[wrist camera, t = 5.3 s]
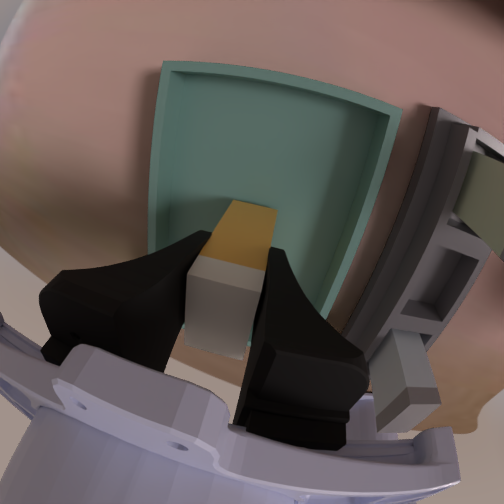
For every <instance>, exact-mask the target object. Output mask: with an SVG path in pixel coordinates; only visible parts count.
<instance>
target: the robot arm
mask: <svg viewBox="0 0 504 504" xmlns="http://www.w3.org/2000/svg"><path fill="white" fill-rule="evenodd" d="M211 235H212V232H208V231H204V230H199V231H197V232H195V233H193V234H191V235H189V236H187V237H185V238H183V239H181V240H179V241H177V242H175V243H174V244H172V245H169V246H167V247H165V248H163V249H160V250H158V251H156V252H154V253H151V254H149V255H146V256H143V257H140V258H137V259H134V260H130V261H126V262H122V263H118V264H114V265H109V266H104V267H97V268H90V269H76V270H62V271H61V272H60V273H59V274H58V275H57V276H56V277H55V278H54V279H52V280H51V281H50V282H49V283H48V284H47V285H46V286H45V287H44V288H43V289H42V290H41V292H40V294H39V305H40V308H41V312H42V315H43V317H44V319H45V322H46V324H47V327H48V329H49V332H50V334H51V337H50V338H49V340H48V341H47V342H46V343H45V345H44V346H43V347H41V346H39V345H38V344H36V343H34V342H33V341H31V340H30V339H28V338H27V337H25V336H24V335H22V334H21V333H19V332H18V331H17V330H15V329H14V328H12V327H11V326H9V325H8V324H7V323H5V322H4V319H3V316H2V314H1V312H0V394H1V395H2V396H4V397H5V398H6V399H7V400H8V401H9V402H10V403H12V405H14V406H15V407H16V408H17V409H18V410H19V411H21V412H22V413H23V414H24V415H25V416H27V417H28V418H29V419H30V420H32V421H31V423H30V425H29V427H28V428H27V430H26V432H25V434H24V435H23V437H22V439H21V441H20V443H19V445H18V446H17V448H16V450H15V452H14V454H13V456H12V458H11V460H10V462H9V464H8V466H7V468H6V470H5V472H4V474H3V477H2V479H1V481H0V504H416V501H419V500H422V499H424V498H427V497H429V496H432V495H434V494H436V493H439V492H441V491H443V490H445V489H448V488H450V487H452V486H454V485H456V484H458V483H459V482H460V481H461V478H460V471H459V464H458V458H457V453H456V447H455V442H454V436H453V432H452V427H450V426H447V427H438V428H430V429H427V430H424V431H422V432H421V433H419V434H418V435H417V436H415V437H414V439H403V440H398V435H397V433H377V428H376V417H375V408H374V400H373V393H365V392H366V391H367V389H368V387H369V382H370V381H369V374H368V368H367V363H366V360H365V356H364V352H363V351H362V350H360V349H359V348H358V347H356V346H355V345H353V344H352V343H351V342H349V341H348V340H347V339H345V338H344V337H343V336H342V335H341V334H340V333H338V332H337V331H336V330H335V329H334V328H333V327H332V326H331V325H330V324H329V323H328V322H327V321H326V320H325V319H324V318H323V317H322V316H321V315H320V314H319V312H318V311H317V310H316V309H315V308H314V306H313V305H312V304H311V302H310V301H309V300H308V298H307V297H306V295H305V294H304V292H303V290H302V289H301V287H300V285H299V283H298V281H297V279H296V277H295V275H294V273H293V271H292V269H291V266H290V264H289V261H288V258H287V255H286V252H285V251H284V250H283V249H279V248H275V247H270V248H269V252H268V260H267V266H266V271H265V276H264V281H263V286H262V290H261V295H260V298H259V302H258V306H257V309H256V313H255V317H254V321H253V330H252V339H251V347H250V353H249V357H248V362H247V366H246V370H245V375H244V379H243V383H242V387H241V391H240V396H239V400H238V404H237V408H236V412H235V416H234V420H233V424H229V423H228V422H229V418H230V413H229V410H228V407H227V404H226V403H225V402H224V401H223V400H222V399H220V398H219V397H218V396H216V395H215V394H214V393H213V392H211V391H210V390H208V389H206V388H203V387H201V386H198V385H196V384H194V383H192V382H189V381H186V380H183V379H180V378H177V377H174V376H170V375H167V374H164V370H165V368H166V365H167V362H168V359H169V357H170V354H171V351H172V349H173V346H174V344H175V341H176V339H177V336H178V334H179V332H180V330H181V328H182V326H183V324H184V322H185V303H186V283H187V273H188V271H189V270H190V268H191V266H192V265H193V263H194V261H195V260H196V258H197V256H198V255H199V253H200V252H201V250H202V248H203V247H204V246H205V244H206V243H207V242H208V240H209V239H210V237H211Z"/></svg>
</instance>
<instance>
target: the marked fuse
mask: <svg viewBox="0 0 504 504" xmlns="http://www.w3.org/2000/svg"><path fill="white" fill-rule="evenodd" d="M277 211H278V210H276V209H272V208H268V207H263V206H259V205H255V204H250V203H246V202H242V201H237V200H233V201H232V203H231V204H230V206H229V207H228V209H227V210H226V212H225V214H224V215H223V217H222V218H221V220H220V221H219V223H218V224H217V226H216V228H215V229H214V231H213V232H212V235H211V237H210V239H209V240H208V242H207V243H206V244H205V246H204V247H203V248H202V250H201V252H200V253H199V255H198V256H197V258H196V260H195V261H194V263H193V265H192V266H191V268H190V270H189V271H188V273H187V283H186V303H185V332H184V345H187V346H190V347H194V348H197V349H201V350H204V351H208V352H211V353H215V354H219V355H223V356H227V357H230V358H234V359H239V360H243V357H244V353H245V349H246V346H247V342H248V339H249V335H250V331H251V328H252V324H253V320H254V317H255V313H256V309H257V306H258V302H259V298H260V295H261V290H262V286H263V281H264V276H265V271H266V266H267V260H268V252H269V248H270V247H271V242H272V237H273V232H274V227H275V222H276V217H277Z"/></svg>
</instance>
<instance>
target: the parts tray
mask: <svg viewBox="0 0 504 504" xmlns="http://www.w3.org/2000/svg"><path fill="white" fill-rule="evenodd" d="M402 111H403V109H400V108H398V107H395V106H393V105H390V104H388V103H385V102H383V101H380V100H377V99H375V98H372V97H369V96H366V95H363V94H361V93H358V92H354V91H351V90H348V89H345V88H342V87H338V86H335V85H332V84H328V83H324V82H321V81H317V80H313V79H309V78H305V77H300V76H296V75H291V74H287V73H282V72H276V71H271V70H265V69H259V68H253V67H246V66H238V65H230V64H220V63H208V62H192V61H163V64H162V69H161V75H160V81H159V88H158V94H157V101H156V109H155V117H154V126H153V135H152V146H151V159H150V174H149V194H148V255H149V254H151V253H154V252H156V251H158V250H160V249H163V248H165V247H167V246H169V245H172V244H174V243H175V242H177V241H179V240H181V239H183V238H185V237H187V236H189V235H191V234H193V233H195V232H197V231H199V230H204V231H208V232H213V231H214V229H215V228H216V226H217V224H218V223H219V221H220V220H221V218H222V217H223V215H224V214H225V212H226V210H227V209H228V207H229V206H230V204H231V203H232V201H233V200H237V201H242V202H246V203H250V204H255V205H259V206H263V207H268V208H272V209H276V210H278V211H277V217H276V222H275V227H274V232H273V237H272V242H271V247H275V248H279V249H283V250H284V251H285V252H286V255H287V258H288V261H289V264H290V266H291V269H292V271H293V273H294V275H295V277H296V279H297V281H298V283H299V285H300V287H301V289H302V290H303V292H304V294H305V295H306V297H307V298H308V300H309V301H310V302H311V304H312V305H313V306H314V308H315V309H316V310H317V311H318V312H319V314H320V315H321V316H322V317H323V318H324V319H325V320H326V318H327V316H328V314H329V312H330V310H331V308H332V305H333V303H334V301H335V299H336V297H337V295H338V293H339V290H340V288H341V286H342V284H343V281H344V279H345V277H346V275H347V272H348V270H349V268H350V265H351V263H352V260H353V258H354V256H355V253H356V251H357V248H358V246H359V243H360V241H361V238H362V236H363V233H364V231H365V228H366V225H367V223H368V220H369V217H370V215H371V212H372V209H373V206H374V204H375V201H376V198H377V195H378V192H379V189H380V186H381V183H382V180H383V177H384V174H385V171H386V168H387V164H388V161H389V158H390V155H391V151H392V148H393V144H394V141H395V137H396V134H397V130H398V126H399V122H400V119H401V115H402ZM253 321H254V320H253ZM182 328H183V329H185V322H184V324H183V326H182ZM252 330H253V324H252V328H251V331H250V335H249V339H248V342H247V346H250V347H251V339H252Z"/></svg>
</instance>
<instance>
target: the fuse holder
mask: <svg viewBox="0 0 504 504" xmlns="http://www.w3.org/2000/svg"><path fill="white" fill-rule="evenodd" d="M473 151H476V152H478V153H481V154H483V155H485V156H488V157H490V158H493V159H495V160H497V161H499V162H502V163H504V144H503V143H501V142H500V141H499V140H497V139H496V138H494V137H493V136H491V135H490V134H489V133H487V132H486V131H484V130H483V129H481V128H479V127H476V126H472V125H470V124H468V123H467V122H465V121H463V120H462V119H460V118H458V117H456V116H455V115H453V114H451V113H449V112H447V111H446V110H444V109H442V108H440V107H432V109H431V113H430V117H429V121H428V125H427V129H426V132H425V136H424V139H423V143H422V146H421V150H420V153H419V156H418V160H417V163H416V166H415V169H414V172H413V175H412V178H411V181H410V184H409V187H408V190H407V193H406V195H405V198H404V201H403V203H402V206H401V209H400V211H399V214H398V216H397V219H396V222H395V224H394V226H393V229H392V231H391V234H390V236H389V239H388V241H387V243H386V246H385V248H384V250H383V252H382V255H381V257H380V259H379V261H378V263H377V266H376V268H375V270H374V272H373V274H372V276H371V278H370V280H369V282H368V284H367V287H366V289H365V291H364V293H363V295H362V296H361V298H360V300H359V302H358V304H357V306H356V308H355V310H354V312H353V314H352V316H351V317H350V319H349V321H348V323H347V325H346V327H345V328H344V330H343V332H342V334H341V335H342V336H343V337H344V338H345V339H347V340H348V341H349V342H351V343H352V344H353V345H355V346H356V347H358V348H359V349H360V350H362V351H363V352H364V356H365V360H366V363H367V368H368V374H369V380H371V377H370V371H369V364H368V360H369V359H370V357H371V356H372V355H373V353H374V352H375V350H376V349H377V348H378V346H379V345H380V343H381V342H382V340H383V339H384V337H385V336H386V335H387V333H388V332H389V330H390V328H393V329H399V330H405V331H411V332H417V333H419V334H420V336H421V339H422V342H423V345H424V348H425V350H426V352H427V351H428V350H429V348H430V347H431V346H432V344H433V343H434V342H435V341H436V339H437V338H438V337H439V335H440V334H441V333H442V331H443V330H444V328H445V327H446V326H447V324H448V323H449V321H450V320H451V318H452V317H453V316H454V314H455V313H456V311H457V310H458V308H459V307H460V305H461V303H462V302H463V300H464V299H465V297H466V295H467V294H468V292H469V291H470V289H471V287H472V286H473V284H474V282H475V280H476V279H477V277H478V275H479V273H480V272H481V270H482V268H483V266H484V264H485V262H486V260H487V258H488V256H489V254H490V252H491V250H492V249H491V248H490V247H489V246H488V245H487V244H486V243H485V242H484V241H483V240H482V239H481V238H480V237H479V236H478V235H477V234H476V233H475V232H474V231H473V230H472V229H471V228H470V227H469V226H468V225H467V224H466V223H465V222H463V221H462V220H461V219H460V218H459V217H458V216H457V215H456V214H454V213H453V212H452V210H453V208H454V205H455V203H456V200H457V198H458V195H459V192H460V190H461V187H462V184H463V181H464V178H465V175H466V172H467V169H468V166H469V163H470V160H471V156H472V153H473Z"/></svg>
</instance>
